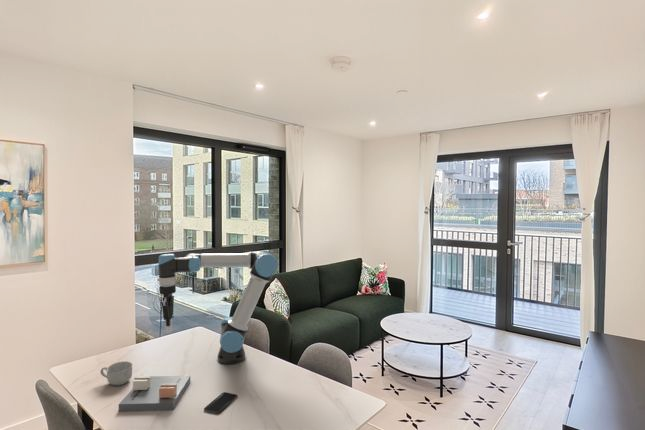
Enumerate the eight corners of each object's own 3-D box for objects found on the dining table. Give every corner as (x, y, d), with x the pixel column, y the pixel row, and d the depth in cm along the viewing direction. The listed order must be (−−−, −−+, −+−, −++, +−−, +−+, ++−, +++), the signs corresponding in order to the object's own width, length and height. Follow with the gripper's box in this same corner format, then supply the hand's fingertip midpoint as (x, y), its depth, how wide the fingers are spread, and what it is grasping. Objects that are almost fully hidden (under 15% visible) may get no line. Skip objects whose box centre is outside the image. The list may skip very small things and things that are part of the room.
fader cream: (150, 385, 162) (150, 375, 162) (146, 389, 158) (146, 379, 158) (136, 385, 161) (136, 375, 161) (132, 390, 157) (132, 380, 157)
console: (190, 381, 172) (190, 375, 172) (173, 409, 149) (173, 402, 148) (143, 382, 171) (143, 376, 171) (118, 411, 147) (118, 403, 147)
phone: (202, 409, 148) (223, 391, 162) (202, 412, 148) (223, 394, 162) (218, 413, 146) (238, 394, 160) (218, 415, 146) (238, 397, 160)
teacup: (137, 377, 176) (137, 361, 175) (122, 389, 165) (122, 372, 165) (110, 376, 177) (110, 360, 177) (94, 387, 166) (94, 370, 166)
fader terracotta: (176, 392, 156) (176, 382, 156) (173, 397, 152) (173, 387, 152) (162, 392, 155) (162, 382, 155) (159, 397, 151) (159, 387, 151)
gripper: (163, 282, 184) (165, 327, 184) (155, 288, 171) (156, 337, 171) (178, 282, 185) (180, 326, 185) (171, 287, 172) (172, 336, 172)
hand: (169, 331), depth 178 cm, fingers closed
